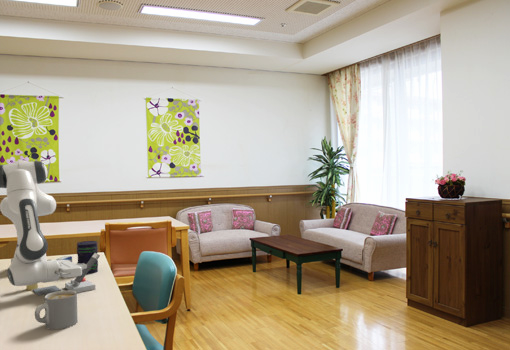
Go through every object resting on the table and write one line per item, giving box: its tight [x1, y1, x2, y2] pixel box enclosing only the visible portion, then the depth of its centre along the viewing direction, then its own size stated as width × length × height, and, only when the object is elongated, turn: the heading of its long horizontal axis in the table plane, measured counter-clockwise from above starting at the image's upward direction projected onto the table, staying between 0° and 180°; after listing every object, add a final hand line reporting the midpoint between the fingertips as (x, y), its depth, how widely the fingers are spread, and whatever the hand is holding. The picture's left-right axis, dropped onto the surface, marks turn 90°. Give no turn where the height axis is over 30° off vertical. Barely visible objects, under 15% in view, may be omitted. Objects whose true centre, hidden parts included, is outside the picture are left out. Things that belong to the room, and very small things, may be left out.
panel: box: [64, 277, 96, 294], centre depth 191 cm, size 12×9×3 cm
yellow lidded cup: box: [25, 283, 39, 291], centre depth 192 cm, size 5×5×10 cm
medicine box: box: [54, 255, 73, 262], centre depth 216 cm, size 8×4×9 cm, turn 168°
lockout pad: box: [32, 285, 62, 296], centre depth 188 cm, size 9×9×1 cm
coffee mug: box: [34, 290, 79, 330], centre depth 147 cm, size 13×10×10 cm
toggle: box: [72, 253, 101, 286], centre depth 192 cm, size 5×2×15 cm
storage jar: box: [76, 240, 99, 275], centre depth 221 cm, size 10×10×15 cm
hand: (85, 265), depth 192 cm, fingers closed, pressing on toggle
